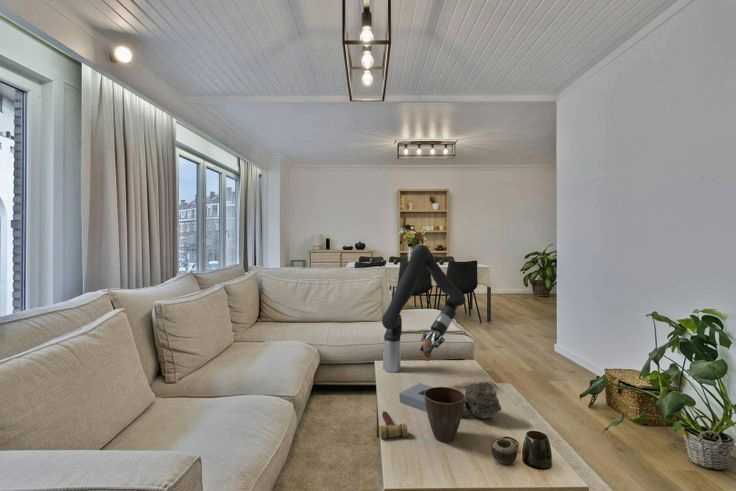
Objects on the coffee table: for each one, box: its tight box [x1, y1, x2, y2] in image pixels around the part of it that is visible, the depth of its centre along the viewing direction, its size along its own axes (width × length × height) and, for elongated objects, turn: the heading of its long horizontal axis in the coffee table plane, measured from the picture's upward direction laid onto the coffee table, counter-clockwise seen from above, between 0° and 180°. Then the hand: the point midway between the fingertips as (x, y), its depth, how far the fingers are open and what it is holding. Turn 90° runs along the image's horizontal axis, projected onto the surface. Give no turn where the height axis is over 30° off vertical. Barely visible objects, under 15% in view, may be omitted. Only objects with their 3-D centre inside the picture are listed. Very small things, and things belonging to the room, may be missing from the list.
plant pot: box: [424, 386, 465, 443], centre depth 137 cm, size 15×15×16 cm
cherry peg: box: [422, 338, 432, 362], centre depth 185 cm, size 4×4×10 cm
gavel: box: [378, 410, 408, 440], centre depth 146 cm, size 21×5×10 cm
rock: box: [461, 381, 502, 420], centre depth 152 cm, size 18×14×15 cm
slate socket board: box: [399, 382, 433, 413], centre depth 166 cm, size 18×16×4 cm
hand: (424, 351), depth 183 cm, fingers closed on cherry peg, 4 cm apart
